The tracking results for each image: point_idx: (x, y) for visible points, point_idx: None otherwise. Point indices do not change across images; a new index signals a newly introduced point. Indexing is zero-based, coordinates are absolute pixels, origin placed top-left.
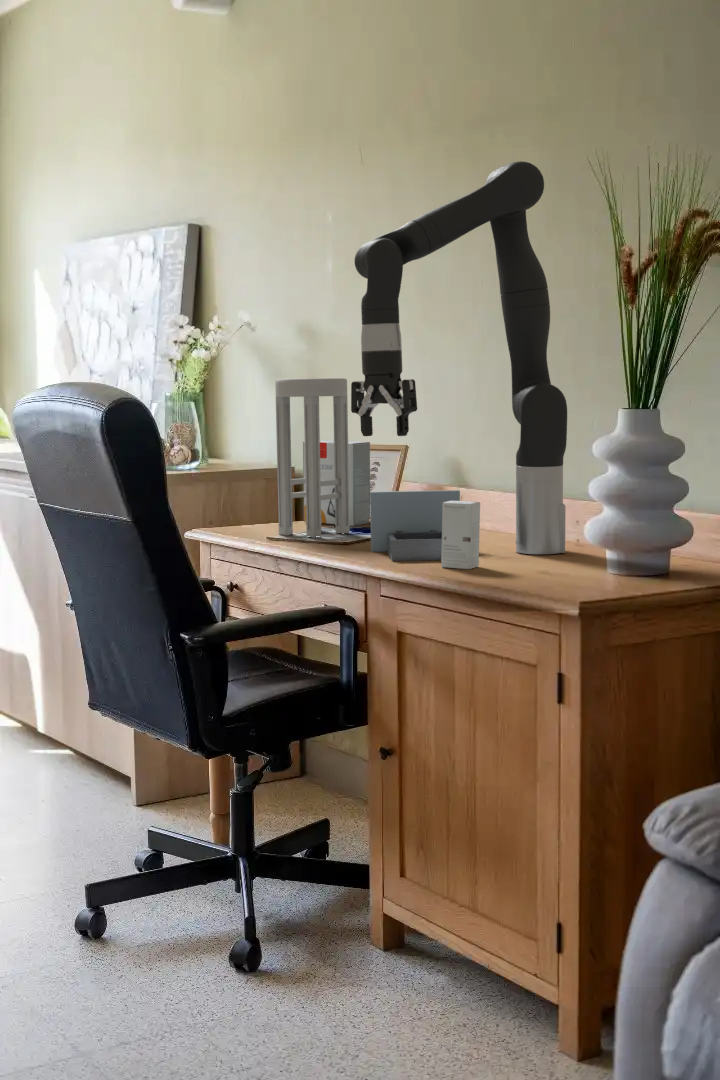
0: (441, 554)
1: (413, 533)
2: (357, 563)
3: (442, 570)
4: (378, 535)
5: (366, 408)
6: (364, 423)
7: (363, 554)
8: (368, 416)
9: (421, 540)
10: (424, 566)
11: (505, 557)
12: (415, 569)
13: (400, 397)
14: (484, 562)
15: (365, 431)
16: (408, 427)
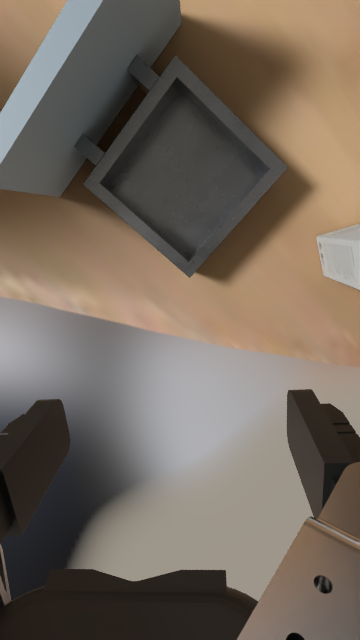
0: (333, 279)
1: (130, 140)
2: (163, 329)
3: (344, 297)
4: (54, 181)
5: (9, 597)
6: (41, 499)
7: (78, 236)
8: (2, 494)
9: (233, 227)
10: (285, 281)
11: (350, 57)
12: (295, 318)
13: (348, 632)
14: (353, 159)
15: (61, 459)
16: (348, 423)
